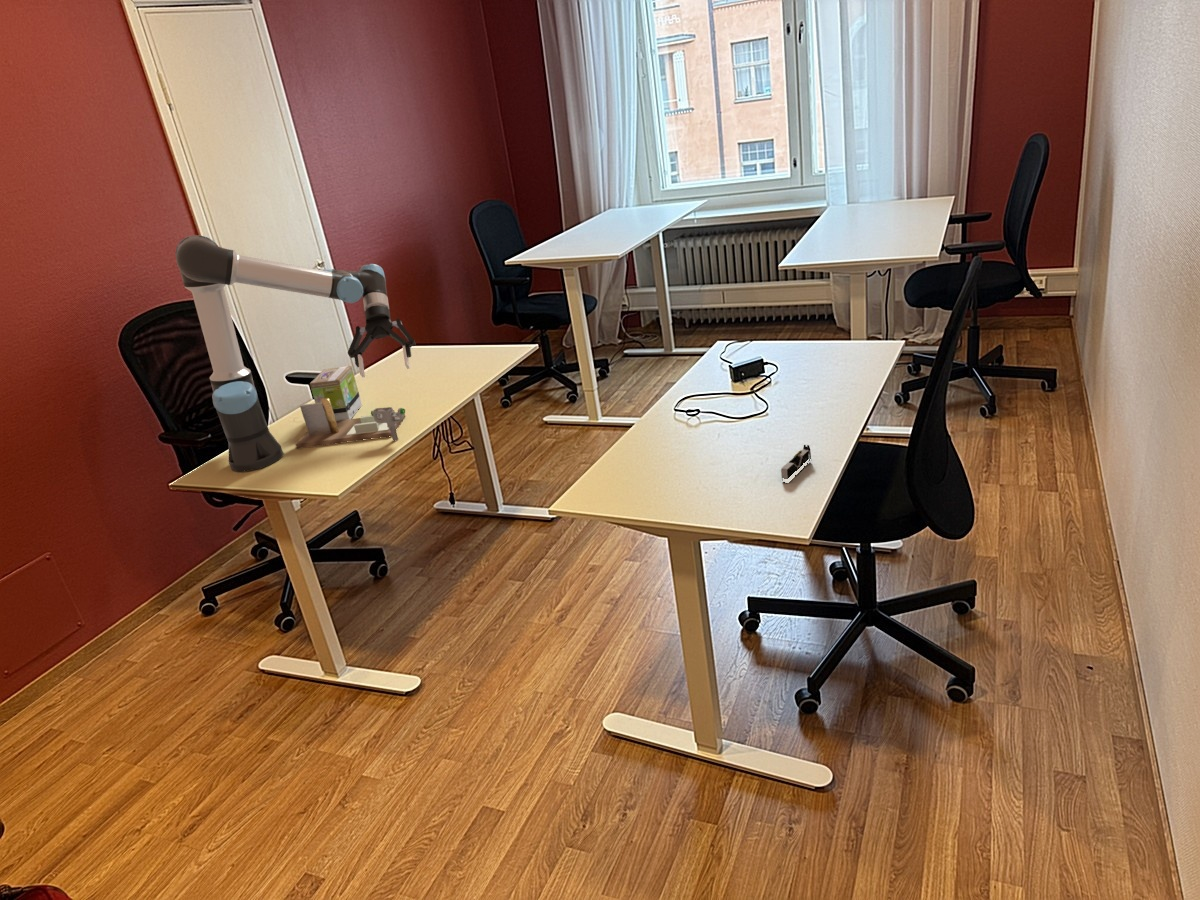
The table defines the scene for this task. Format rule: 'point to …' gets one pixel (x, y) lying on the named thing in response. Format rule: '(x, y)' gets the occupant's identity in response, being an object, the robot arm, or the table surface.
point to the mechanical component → (388, 418)
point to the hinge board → (341, 435)
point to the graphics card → (796, 462)
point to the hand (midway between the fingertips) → (384, 371)
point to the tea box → (338, 391)
